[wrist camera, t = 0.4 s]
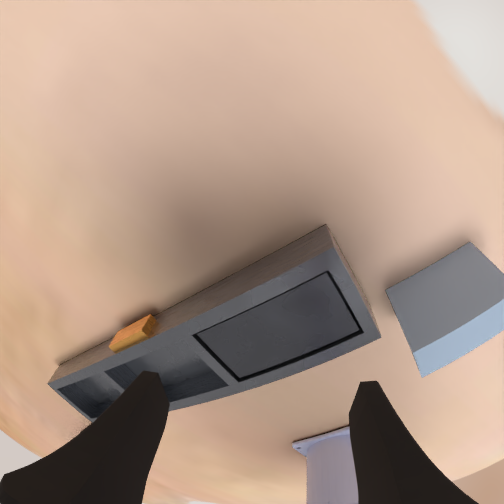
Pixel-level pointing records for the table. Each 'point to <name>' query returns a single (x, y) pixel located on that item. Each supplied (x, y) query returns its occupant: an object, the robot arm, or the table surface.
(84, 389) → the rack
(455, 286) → the blue-grey block
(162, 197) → the table surface
